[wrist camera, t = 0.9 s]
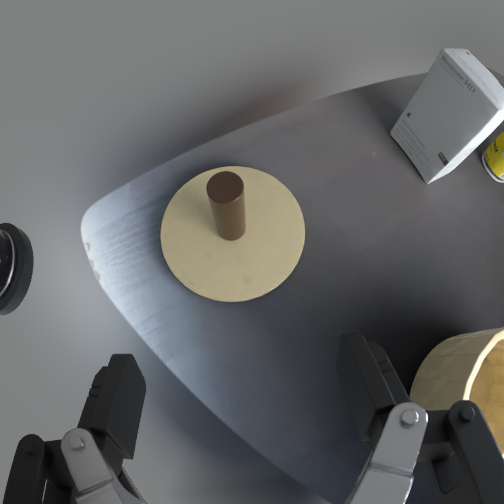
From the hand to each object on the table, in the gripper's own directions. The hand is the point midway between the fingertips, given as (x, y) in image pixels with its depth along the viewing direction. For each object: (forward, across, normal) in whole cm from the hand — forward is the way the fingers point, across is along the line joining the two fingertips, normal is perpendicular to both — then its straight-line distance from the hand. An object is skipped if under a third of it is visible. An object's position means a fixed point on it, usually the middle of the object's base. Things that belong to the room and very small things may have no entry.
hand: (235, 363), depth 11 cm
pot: (+5, -21, +17) cm, 27 cm away
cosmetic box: (+25, -24, -3) cm, 35 cm away
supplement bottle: (+24, -38, -2) cm, 45 cm away
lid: (+18, 0, +2) cm, 18 cm away
